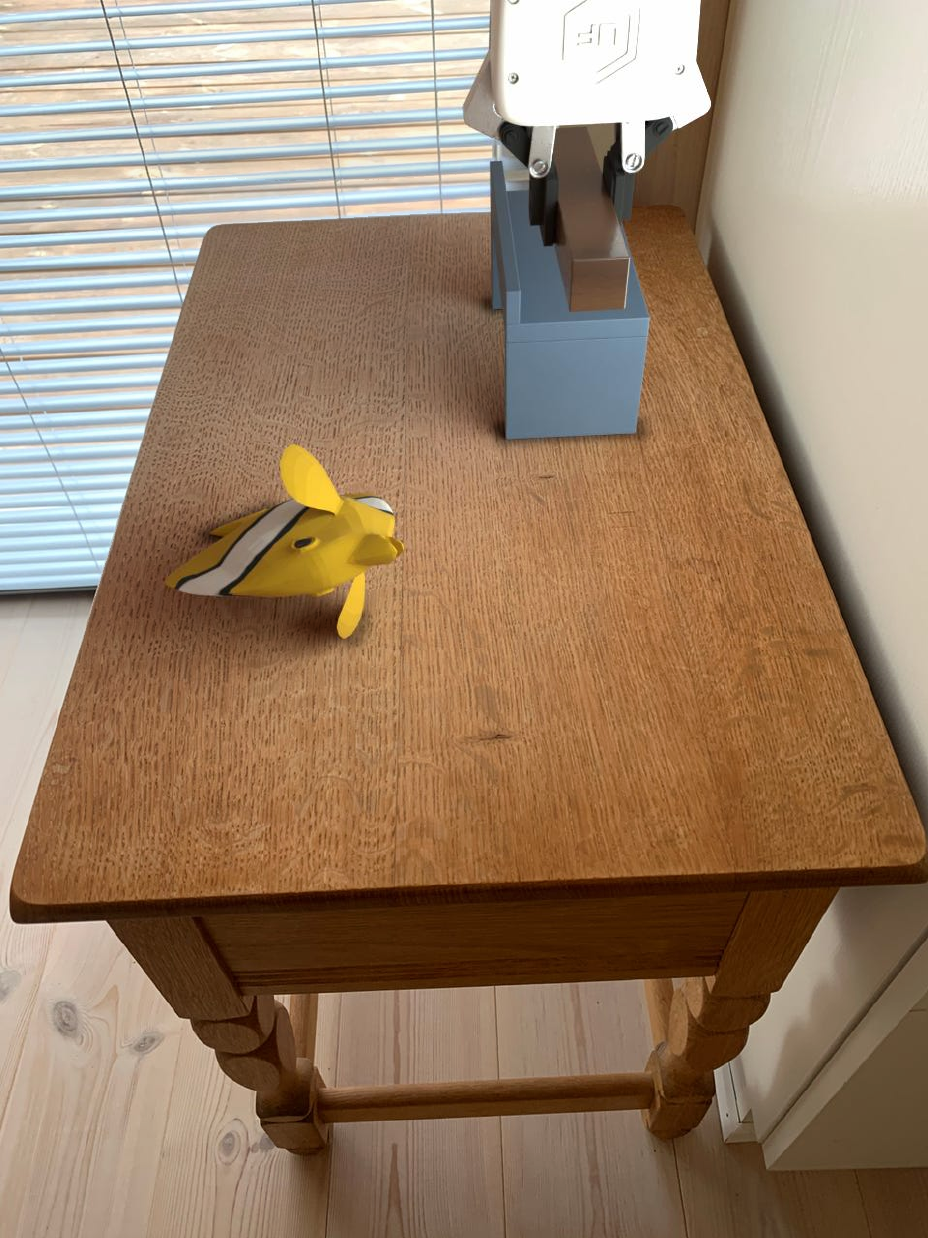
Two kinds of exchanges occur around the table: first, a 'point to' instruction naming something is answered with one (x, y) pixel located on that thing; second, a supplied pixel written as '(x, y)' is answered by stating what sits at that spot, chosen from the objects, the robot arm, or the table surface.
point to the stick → (587, 228)
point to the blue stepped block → (559, 335)
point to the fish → (298, 544)
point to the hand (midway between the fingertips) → (578, 230)
